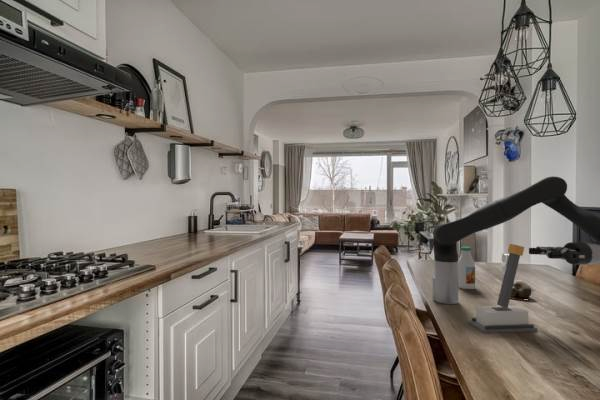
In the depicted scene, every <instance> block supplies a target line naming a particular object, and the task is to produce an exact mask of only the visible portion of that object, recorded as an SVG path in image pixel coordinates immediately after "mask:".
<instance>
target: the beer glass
mask: <svg viewBox="0 0 600 400" xmlns="http://www.w3.org/2000/svg"><path fill="white" fill-rule="evenodd" d="M508 257H509V253H508V252H507V253H501V268H502V273H503V274H502V275H504V274H505V270H506V266H507V261H508ZM515 280H517V274H516V275H515V279H514V281H515Z"/></svg>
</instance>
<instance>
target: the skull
mask: <svg viewBox="0 0 600 400" xmlns="http://www.w3.org/2000/svg"><path fill="white" fill-rule="evenodd" d="M529 296H530V297H531V296H532V288H531V286H530V285H529V284H528V283H527V282H525V281H524V280H521V279H516V280H515V281H514V283H513V287H512V292H511V296H510V299H512V300H518V301H523V302H524V301H525V300H524V299H530V298H529Z"/></svg>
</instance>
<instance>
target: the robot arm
mask: <svg viewBox="0 0 600 400" xmlns="http://www.w3.org/2000/svg"><path fill="white" fill-rule="evenodd" d="M567 191H568V184H567V181H566V180H565V179H563V178H561V177H559V176H548V177H545V178H542V179H540V180H539V181H537V182H534V183H533V184H530V185H529V186H528V187H526V188H524V189H521V190H519V191H517V192H513V193H511V194H509V195H506V196H504V197H502V198H499V199H495V200H494V201H491V202H489V203H486V204H484V205H483V206H481V207H479V208H477V209H475V210H474V211H472V212H471V213H469V214H467V215H466V216H464V217H462V218H459V219H456V220H453V221H449V222H445V221H444V222H441V223H438V224H437V225H436V226H435V227H434V229H433V256H434V276H433V277H432V300H433V301H435V302H437V303H440V304H445V305H456V304H459V299H460V298H459V287H458V261H459V254H458V253H459V252H458V248H457V246H458V244H457V242H460V241H461V240H463V239H465V238H467V237H469V236H471V235H473V234H475V233H479V232H481V231H484V230H487V229H490V228H493V227H496V226H498V225H501V224H503V223H506V222H508V221H510V220H513V219H514V218H516V217H517V216H519V215H521V214H522V213H523V212H525V211H527V210H528V209H530V208H531V207H533V206H536V205H539V204H544V205H545V206H547V208H550V209H552V210H554V212H557V213H558V214H559V215H561V216H563V217H564V218H566V219H567V220H568V221H570V222H571V223H573V224H574V225H575V226H576V227H578V228H579V229H581V231H582V232H584V233H585V234H586V235H587V236H589V237H590V238H591V239H592V240H594V241H595V242H596V243H595V242H587V241H586V242H580V241H579V242H578V241H575V242H574V241H573V242H572V241H571V242H567V243H565V244H564V246H536V247H529V248H528V254H529V255H540V256H546V257H547V258H548V259H550V260H551V259H558V260H559V259H560V260H562V261H565V262H566V263H568V264H570V265H581V266H582V265H586V266H587V265H600V216H598V215H597V214H595V213H593V212H590V211H588V210H586V209H584V208H583V207H580V206H578V205H577V204H575V203H574V202H573V201H571V200H570V199H569V197H568V196H566V193H567Z"/></svg>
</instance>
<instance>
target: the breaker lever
mask: <svg viewBox="0 0 600 400" xmlns="http://www.w3.org/2000/svg"><path fill="white" fill-rule="evenodd" d="M524 251H525V246H523V245H522V246H521V245H518V244H513V243H509V245H508V248H507V254H509V257H508V261H507V266H506V270H505V274H503V279H502V284H501V287H500V291H499V296H498V299H497V305H496V306H502V307H505V308H508V306H509V303H510V299H511V298H510V296H511V292H512V287H513V283H514V279H515V275H516V276H517V271H518V266H519V262H520V258H521V257H522V256H523V255H524Z"/></svg>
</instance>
